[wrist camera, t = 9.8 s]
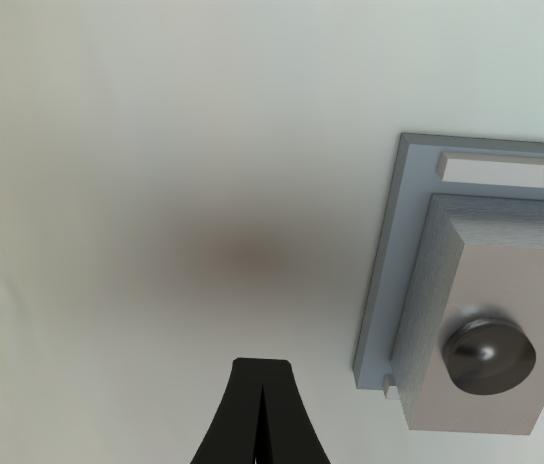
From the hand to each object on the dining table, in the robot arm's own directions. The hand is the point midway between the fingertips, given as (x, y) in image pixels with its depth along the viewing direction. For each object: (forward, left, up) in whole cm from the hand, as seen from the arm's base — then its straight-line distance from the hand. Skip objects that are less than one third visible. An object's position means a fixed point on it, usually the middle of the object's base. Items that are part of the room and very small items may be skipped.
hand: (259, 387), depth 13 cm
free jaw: (0, -7, -5) cm, 9 cm away
